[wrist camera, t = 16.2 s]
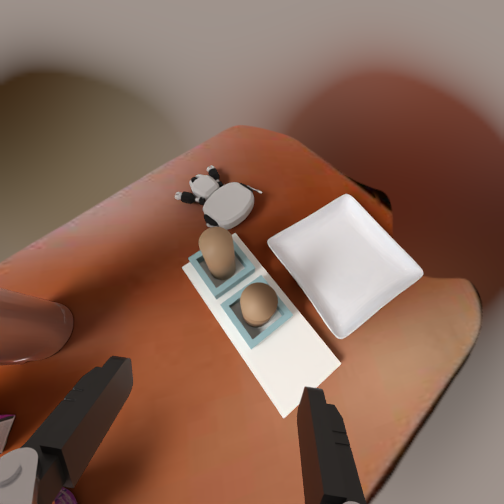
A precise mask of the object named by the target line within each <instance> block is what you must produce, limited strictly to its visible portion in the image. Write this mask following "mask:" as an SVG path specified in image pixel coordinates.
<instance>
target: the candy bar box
mask: <svg viewBox="0 0 504 504" xmlns="http://www.w3.org/2000/svg"><path fill="white" fill-rule="evenodd" d="M14 418H15V415H0V454H1V453H2V452H3V450H4V448H5V445H6V442H7V439H8V435H9V432H10V430H11V427H12V424H13V421H14Z"/></svg>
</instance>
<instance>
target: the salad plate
mask: <svg viewBox="0 0 504 504" xmlns="http://www.w3.org/2000/svg"><path fill="white" fill-rule="evenodd" d="M267 244H268V246H269V247H270V249H271V250H272V251H273V253H274V254H275V255H276V257H277V258H278V259H279V260H280V261H281V263H282V264H283V265H284V266H285V268H286V269H287V270H288V271H289V273H290V274H291V275H292V276H293V278H294V279H295V280H296V282H297V283H298V284H299V286H300V287H301V289H302V290H303V291H304V293H305V294H306V295H307V297H308V298H309V300H310V301H311V303H312V304H313V306H314V307H315V309H316V310H317V312H318V313H319V315H320V316H321V318H322V319H323V321H324V322H325V324H326V325H327V327H328V328H329V329H330V331H331V332H332V333H333V334H334V335H335V336H336V337H337V338H339V339H343V338H345V337H347V336H348V335H350V334H351V333H352V332H354V331H355V330H356V329H357V328H358V327H360V326H361V325H362V324H363V323H364V322H366V321H367V320H368V319H369V318H370V317H371V316H373V315H374V314H375V313H376V312H377V311H379V310H380V309H381V308H382V307H383V306H384V305H386V304H387V303H388V302H390V301H391V300H392V299H393V298H395V297H396V296H397V295H399V294H400V293H401V292H403V291H404V290H405V289H407V288H408V287H409V286H411V285H412V284H414V283H415V282H416V281H418V280H419V279H420V278H421V277H422V276H423V270H422V269H421V267H420V266H419V265H418V264H417V263H416V262H415V261H414V260H413V259H412V258H411V257H410V256H409V255H408V254H407V253H406V252H405V251H404V250H403V249H402V248H401V247H400V246H399V245H398V243H396V241H395V240H394V239H393V238H392V237H391V236H390V235H389V234H388V233H387V232H386V231H385V230H384V229H383V228H382V227H381V226H380V225H379V224H378V223H377V222H376V221H375V220H374V219H373V218H372V217H371V216H370V215H369V213H368V212H367V211H366V210H365V209H364V208H363V207H362V206H361V205H360V204H359V203H358V202H357V201H356V200H355V199H354V198H353V197H352V196H350V195H349V194H344V195H342V196H340V197H338V198H337V199H335V200H334V201H332V202H330V203H329V204H327V205H326V206H324V207H322V208H321V209H319V210H318V211H316V212H314V213H313V214H311V215H309V216H308V217H306V218H304V219H302V220H301V221H299V222H297V223H296V224H294V225H292V226H290V227H288V228H286V229H285V230H283V231H281V232H279V233H278V234H276V235H274V236H272V237H271V238H269V239H268V241H267Z"/></svg>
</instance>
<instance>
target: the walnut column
mask: <svg viewBox="0 0 504 504" xmlns="http://www.w3.org/2000/svg"><path fill="white" fill-rule="evenodd" d="M240 305H241V310H242V316H243V319H244V321H245V322H246V323H247V324H248V325H249V326H251V327H255V328H258V327H262V326H264V325H265V324H266V323H267V322H268V321H269V319H270V318H271V317H272V315H273V314H274V313H275V311H276V309H277V306H278V297H277V294H276V292H275V291H274V289H273V288H272V287H271V286H269V285H268V284H265V283H261V282H256V283H252V284H250V285H248V286H247V287H246V288H245V289H244V290H243V292H242V294H241V298H240Z"/></svg>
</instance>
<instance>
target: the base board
mask: <svg viewBox="0 0 504 504" xmlns="http://www.w3.org/2000/svg"><path fill="white" fill-rule="evenodd" d="M199 248H200V251H198V252H197V253H195V254H194V255H192V256H190V257H189V258H188V259H189V261H190V262H189V263H188V264H186V265H184V266H183V267H182V269H183V270H184V272H185V273H186V275H187V276H188V278H189V279H190V281H191V282H192V283H193V285H194V286H195V288H196V289H197V291H198V292H199V294H200V295H201V297H202V298H203V300H204V301H205V303H206V304H207V306H208V307H209V309H210V310H211V312H212V313H213V315H214V316H215V318H216V319H217V321H218V322H219V324H220V325H221V326H222V328H223V329H224V331H225V332H226V334H227V335H228V337H229V338H230V340H231V341H232V343H233V344H234V346H235V347H236V349H237V350H238V352H239V353H240V355H241V356H242V358H243V359H244V361H245V362H246V364H247V365H248V367H249V368H250V370H251V371H252V372H253V374H254V375H255V377H256V378H257V380H258V381H259V383H260V384H261V386H262V387H263V389H264V390H265V392H266V393H267V395H268V396H269V398H270V399H271V401H272V402H273V404H274V405H275V407H276V408H277V410H278V411H279V413H280V414H281V415H282V417H283V418H285V417H286V416H287V415H288V414H289V413H290V412H291V411H292V410H293V409H294V408H295V407H296V406H298V405H299V404H300V400H301V397H302V394H303V390H304V387H305V386H306V387H313V388H316V387H317V386H319V385H320V384H321V383H322V382H323V381H324V380H325V379H326V378H327V377H328V376H329V375H330V374H331V373H332V372H333V371H334V370H335V369H336V368H337V367H338V366H340V365H341V363H340V361H339V360H338V359H337V358H336V356H335V355H334V354H333V353H332V352H331V350H330V349H329V348H328V347H327V345H326V344H325V343H324V342H323V340H322V339H321V338H320V337H319V335H318V334H317V333H316V332H315V331H314V329H313V328H312V327H311V326H310V324H309V323H308V322H307V321H306V319H305V318H304V317H303V316H302V314H301V313H300V312H299V311H298V310H297V308H296V307H295V306H294V305H293V303H292V302H291V301H290V300H289V298H288V297H287V296H286V295H285V293H284V292H283V291H282V290H281V289H280V287H279V286H278V285H277V284H276V282H275V281H274V280H273V279H272V277H271V276H270V275H269V274H268V272H267V271H266V270H265V269H264V268H263V266H262V265H261V264H260V263H259V261H258V260H257V259H256V258H255V256H254V255H253V254H252V253H251V252H250V250H249V249H248V248H247V247H246V245H245V244H244V243H243V242H242V240H241V239H240V238H239V237H238V235H237V234H236V233H234V234H233V235H231V234H230V232H229V231H228V230H226V229H224V228H222V227H211V228H209V229H207V230H205V231H204V232H203V233H202V234H201V236H200V238H199ZM256 282H261V283H265V284H268V285H269V286H271V287H272V288H273V289H274V291H275V292H276V294H277V297H278V306H277V309H276V311H275V313H274V314H273V315H272V317H271V318H270V319H269V321H268V322H267V323H266V324H265V325H264V326H262V327H258V328H255V327H251V326H249V325H248V324H247V323H246V322H245V321H244V319H243V316H242V310H241V305H240V298H241V294H242V292H243V290H244V289H245V288H246V287H247V286H248V285H250V284H252V283H256Z"/></svg>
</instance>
